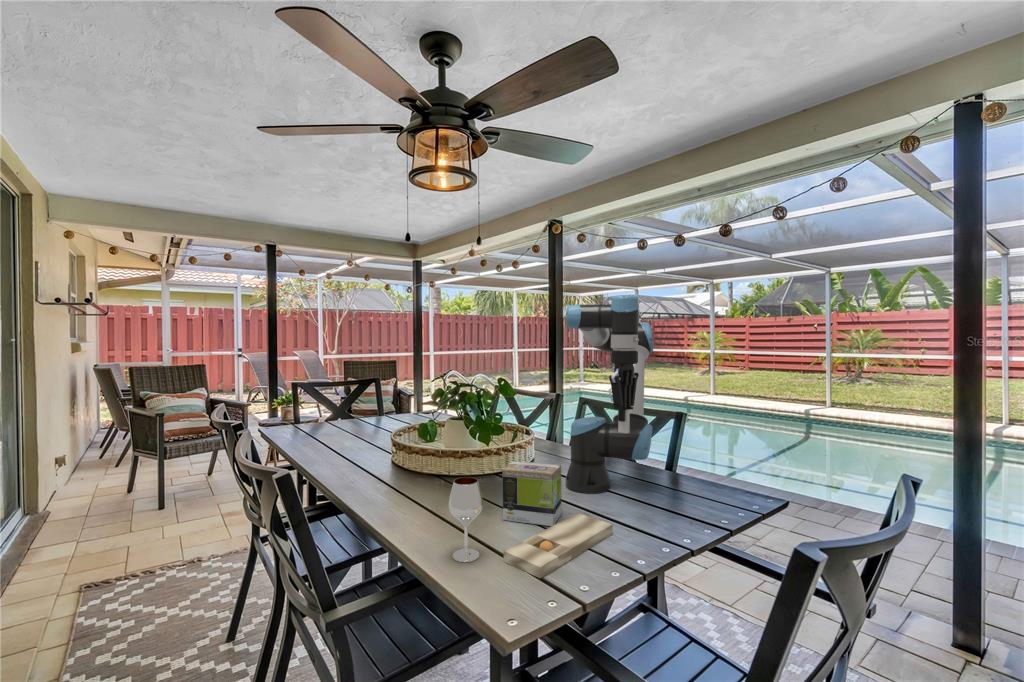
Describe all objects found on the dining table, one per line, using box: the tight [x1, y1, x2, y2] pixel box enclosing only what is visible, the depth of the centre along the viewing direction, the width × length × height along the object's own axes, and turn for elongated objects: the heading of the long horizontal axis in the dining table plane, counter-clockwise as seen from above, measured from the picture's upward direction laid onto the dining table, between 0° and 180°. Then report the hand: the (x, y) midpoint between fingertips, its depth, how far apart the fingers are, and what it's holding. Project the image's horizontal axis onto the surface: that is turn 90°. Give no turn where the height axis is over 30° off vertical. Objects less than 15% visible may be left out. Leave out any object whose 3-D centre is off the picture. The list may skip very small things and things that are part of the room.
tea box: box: [501, 460, 562, 527], centre depth 135 cm, size 15×10×15 cm, turn 71°
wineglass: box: [448, 476, 484, 563], centre depth 112 cm, size 8×8×18 cm
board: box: [503, 513, 613, 579], centre depth 117 cm, size 11×30×2 cm, turn 137°
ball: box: [539, 541, 554, 552], centre depth 112 cm, size 4×4×4 cm
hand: (623, 432), depth 135 cm, fingers closed
